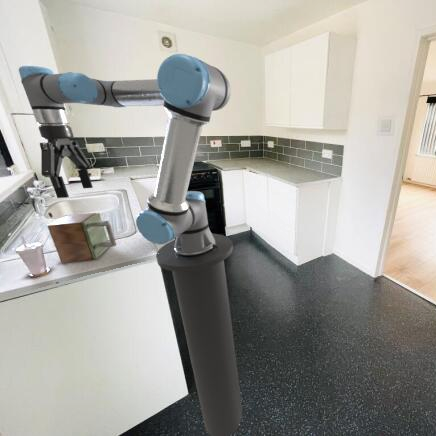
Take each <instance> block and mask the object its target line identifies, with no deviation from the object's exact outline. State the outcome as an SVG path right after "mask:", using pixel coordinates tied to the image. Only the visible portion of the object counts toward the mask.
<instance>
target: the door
mask: <svg viewBox="0 0 436 436" xmlns="http://www.w3.org/2000/svg"><path fill="white" fill-rule="evenodd" d="M95 213H96V214H95V215H93V216H91V217H90V218H88V219H87V220H85V221H84V222H82V226H83V229H84V232H85V235H86V238H87V241H88V244H89V247H90V250H91V253H92V256H93V260H97V259H98V258H99V257H100V256H101V255H102V254H103V253H104V252H105V251H106V250H107V249H108V248H111V247H116V246H117V245H118V244H117V241H116V237H115V234H114V231H113V227H112V224H111V221H110V220H102V217H101V213H100V212H95ZM105 228H106V230H105ZM106 231H107V234H106ZM107 235H108V237H107ZM108 239H109V240H108Z"/></svg>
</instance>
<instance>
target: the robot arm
mask: <svg viewBox="0 0 436 436" xmlns="http://www.w3.org/2000/svg"><path fill="white" fill-rule="evenodd" d="M18 74H19V76H20V82H21V84H22V87H23V89H24V91H25V95H26V97H27V100H28V103H29V106H30V107H31V110H32V114H33V116H34V119H35V122H36V124H37V125H39V126H38V127H37V128H38V130H39V134H40V137H41V138H42V139H43V140H47V142H39V147H40V152H41V154H40V155H41V157H40V159H41V160H40V161H41V164H40V165H41V167H40V168H41V172H40V173H41V176H42V177H44V178H49V180H50V182H51V185H52V187H53V190H54V192H55V195H56V198H57V199H65V198H66V199H67V198H69V197H70V196H69V194H68V190H67V187H66V184H65V181H64V177H63V176H62V175H60V173H61V168H62V164H63V159H65V158H66V157H67V158H68V159H69V160H70V161H71V163H73V164H74V165H75V167H76V168H77V169H78V170H77V174H78V176H79V178H80V182H81V186H82V189H93V188H94V187H93V184H92V180H91V177H90V173H89V170H91V169H92V168H91V167H92V166H91V163H90V161H89V159H88V158H87V156H86V155H85V153H84V152H83V151H82V149H81V146H80V144H79V141H78V140H71V139H74V138H75V135H74V133H73V130H72V127H71V126H70V120H69V117H68V114H67V111H66V107H65V105H64V104H82V105H92V106H105V107H113V108H126V107H144V106H145V107H151V106H153V107H155V106H157V107H158V106H162V107H163V108H164V110H165V112H166V113H167V115H168V117H167V122H166V128H165V134H164V138H163V145H162V150H161V157H160V162H159V169H158V174H157V180H156V186H155V191H154V193H152V194H150V195H149V196H148V198H147V204H146V209H145V210H142V211H141V212H140V213H138V214H137V216H136V218H135V224H136V225H135V226H136V228H137V230H138V233H140V234H141V236H142V237H143V238H144V239H145V240H147V241H148V242H150V243H153V244H156V245H166V244H167V243H169V242H171V241H173V240H176V241H175V247H174V248H175V253H176V254H177V255H179V256H182V257H195V256H200V255H203V254H206V253H208V252H210V251H212V250H213V249H214V248H218V247H217V246H216V243H215V239H214V237H213V235H212V234H213V232H211V229H210V227H209V221H208V212H207V207H206V200H205V195H204V193H203V192H201V191H197V190H188V188H189V185H190V181H191V177H192V172H193V169H194V163H195V161H196V155H197V151H198V147H199V143H200V142H199V141H200V137H201V133H202V129H203V127H204V126H205V125H207V124H209V123H210V121H211V116H212V112H214V111H220V110H222V109H223V108H225V107H226V105H228V103H229V101H230V98H231V94H232V93H231V92H232V90H231V89H232V88H231V84H230V82H229V80H228V77H227V75H225V73H223V71H221V70H220V69H219V68H218V67H216V66H213V65H211V64H209V63H207V62H205V61H203V60H201V59H199V58H197V57H195V56H192V55H188V54H185V53H174V54H172V55H169V56H168V57H166V58H165V59H164V60H162V62H161V64H160V65H159V68H158V71H157V76H156V79H155V78H154V79H152V78H151V79H130V80H129V79H128V80H127V79H126V80H101V79H96V78H91V77H89V76H88V75H86V74H84V73H82V72H72V71H67V72H63V73H62V72H61V73H54V71H53V70H52V69H50V68H47V67H43V66H36V65H22V66H20V67H18Z"/></svg>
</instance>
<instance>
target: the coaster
mask: <svg viewBox="0 0 436 436" xmlns="http://www.w3.org/2000/svg"><path fill="white" fill-rule="evenodd" d="M50 272H51V269H50V268H49V267H47V271H46V272H44V273H41V274H38V275H32V273H31V272H30V273H29V277H30V278H38V277H43V276H44V275H47V274H49V273H50Z"/></svg>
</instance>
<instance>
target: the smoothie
mask: <svg viewBox="0 0 436 436" xmlns="http://www.w3.org/2000/svg"><path fill="white" fill-rule="evenodd" d="M19 236H20V239H21V241H22V243H23V245H20V246H18V247H16V248H14V251H15V253H16V254H17V255H18V256H19V257H20V259H21V260H22V262H23V263H24V264H25V266H26V267H27V269H28V271H29V272H30V274H31V273H32V275H38V274H41V273H44V272H46V271H47V268H48V267H47V263H46V258H45V254H44V249H43V247H44V245H43V243H42V242H38V241H37V242H31V243H27V242H26V240H25V237H24V235H23V234H19Z"/></svg>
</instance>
